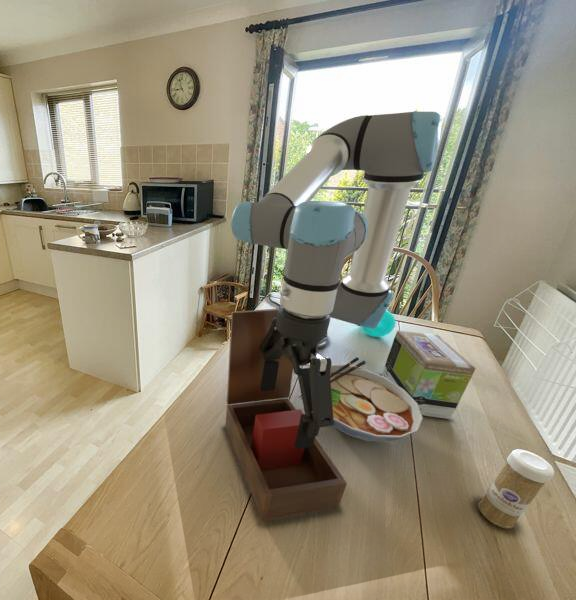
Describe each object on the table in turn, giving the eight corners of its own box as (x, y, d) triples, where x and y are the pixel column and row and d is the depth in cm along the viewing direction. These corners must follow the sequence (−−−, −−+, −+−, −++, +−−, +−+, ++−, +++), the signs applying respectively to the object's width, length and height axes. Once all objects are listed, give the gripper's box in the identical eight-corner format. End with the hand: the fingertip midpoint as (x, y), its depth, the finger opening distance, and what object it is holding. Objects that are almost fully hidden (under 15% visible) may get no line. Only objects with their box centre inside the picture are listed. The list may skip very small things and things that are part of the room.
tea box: (452, 420, 72) (478, 368, 66) (404, 414, 74) (425, 362, 67) (419, 379, 85) (439, 333, 79) (379, 374, 87) (395, 328, 81)
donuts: (381, 326, 112) (389, 301, 108) (392, 340, 104) (401, 313, 99) (351, 322, 115) (358, 298, 110) (359, 336, 106) (367, 310, 102)
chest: (337, 510, 53) (347, 483, 50) (260, 523, 51) (266, 496, 48) (283, 421, 71) (287, 398, 68) (224, 429, 69) (227, 405, 66)
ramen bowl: (373, 487, 57) (385, 456, 54) (276, 410, 75) (281, 382, 71) (433, 430, 69) (446, 402, 66) (337, 375, 87) (344, 350, 83)
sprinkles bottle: (477, 517, 52) (513, 462, 47) (476, 496, 56) (510, 443, 50) (515, 536, 50) (559, 480, 44) (512, 513, 53) (552, 459, 47)
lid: (301, 308, 61) (299, 306, 62) (232, 313, 59) (231, 311, 60) (289, 397, 68) (287, 395, 69) (227, 404, 66) (226, 402, 67)
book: (249, 456, 62) (255, 414, 57) (291, 450, 63) (300, 409, 59) (256, 472, 59) (263, 429, 54) (300, 465, 60) (311, 423, 55)
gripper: (250, 281, 58) (239, 373, 66) (332, 357, 35) (299, 482, 44) (287, 279, 59) (272, 370, 67) (390, 352, 36) (347, 475, 45)
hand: (283, 414), depth 56 cm, fingers open, 13 cm apart
